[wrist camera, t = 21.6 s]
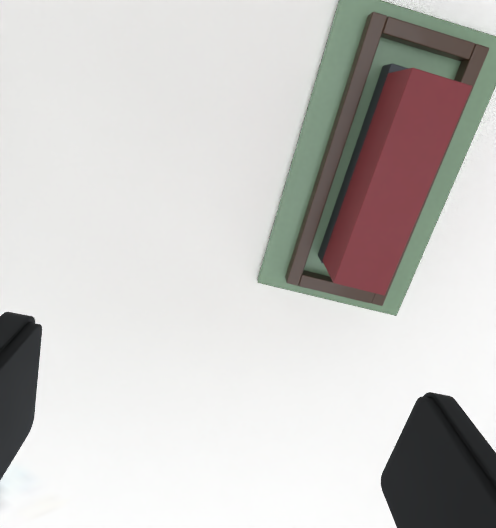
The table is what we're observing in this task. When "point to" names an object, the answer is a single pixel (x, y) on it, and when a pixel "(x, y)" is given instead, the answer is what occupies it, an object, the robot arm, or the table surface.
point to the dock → (348, 129)
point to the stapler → (390, 175)
